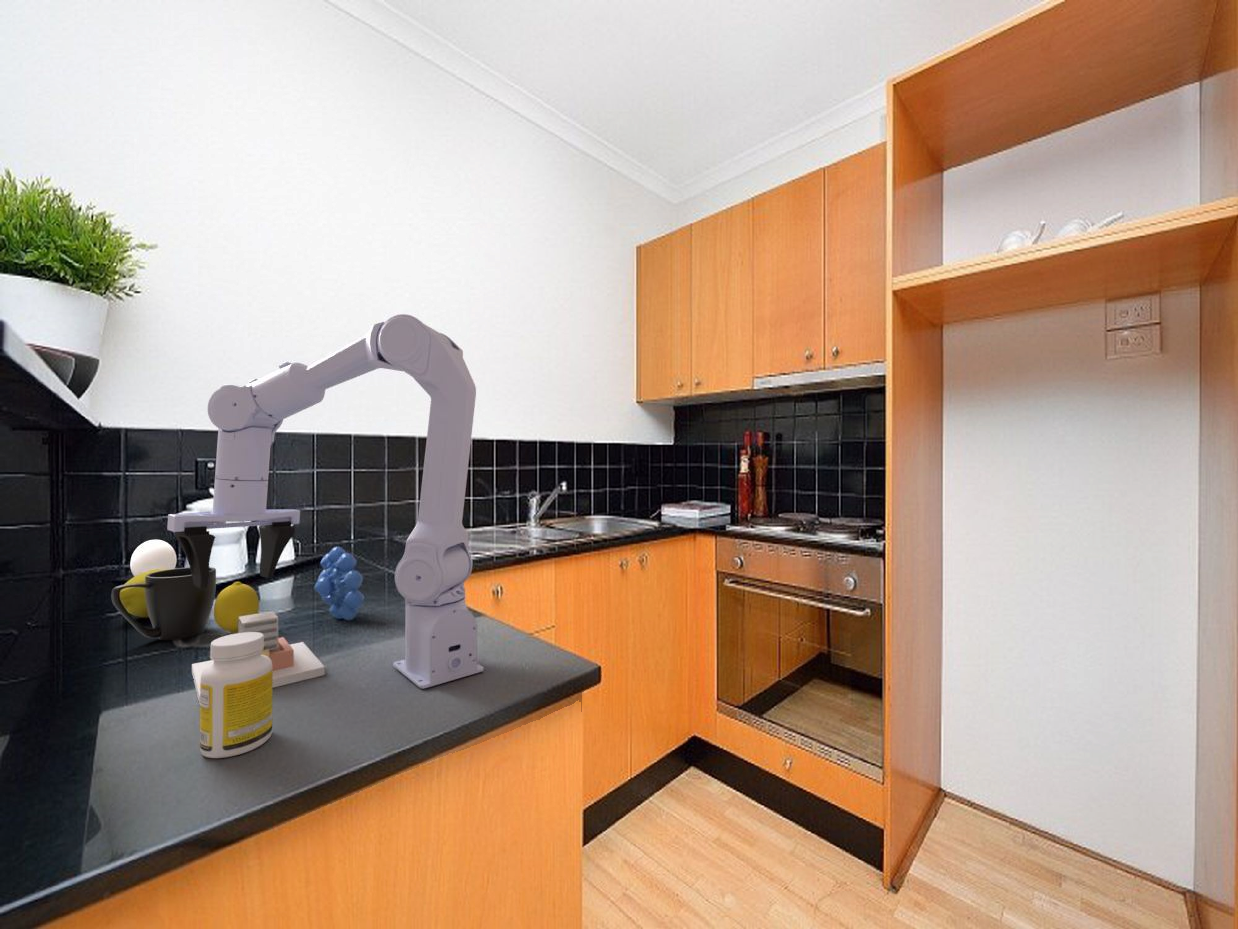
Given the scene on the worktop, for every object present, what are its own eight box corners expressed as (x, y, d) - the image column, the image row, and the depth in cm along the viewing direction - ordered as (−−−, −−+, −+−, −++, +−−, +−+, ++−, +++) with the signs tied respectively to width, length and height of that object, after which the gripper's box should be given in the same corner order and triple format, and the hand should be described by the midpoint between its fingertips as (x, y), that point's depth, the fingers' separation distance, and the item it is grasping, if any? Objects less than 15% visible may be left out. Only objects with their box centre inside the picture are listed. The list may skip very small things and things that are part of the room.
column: (278, 664, 63) (278, 617, 63) (242, 672, 61) (242, 623, 61) (272, 656, 66) (272, 611, 66) (238, 663, 64) (238, 616, 64)
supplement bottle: (285, 728, 50) (285, 628, 51) (246, 760, 45) (247, 648, 45) (228, 729, 50) (229, 629, 50) (183, 761, 45) (184, 649, 45)
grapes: (296, 618, 86) (297, 547, 86) (337, 609, 92) (338, 542, 92) (331, 632, 80) (331, 554, 80) (373, 621, 85) (373, 548, 85)
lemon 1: (183, 606, 94) (184, 562, 94) (204, 612, 90) (204, 566, 90) (102, 622, 84) (103, 573, 84) (121, 629, 80) (121, 578, 80)
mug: (100, 645, 73) (100, 578, 73) (201, 623, 84) (201, 564, 84) (122, 655, 69) (123, 585, 69) (225, 631, 80) (226, 569, 80)
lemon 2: (234, 641, 75) (235, 586, 75) (203, 638, 76) (204, 585, 76) (267, 629, 80) (268, 578, 80) (238, 627, 82) (238, 577, 82)
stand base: (324, 674, 63) (324, 645, 63) (199, 705, 55) (199, 671, 55) (302, 649, 72) (302, 623, 72) (191, 672, 64) (191, 643, 64)
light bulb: (133, 594, 102) (133, 539, 102) (177, 589, 106) (178, 536, 106) (127, 602, 96) (127, 543, 96) (174, 596, 100) (175, 540, 100)
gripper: (284, 477, 76) (277, 568, 77) (160, 476, 64) (152, 584, 64) (310, 481, 73) (303, 576, 73) (185, 480, 60) (176, 596, 60)
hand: (234, 581), depth 68 cm, fingers open, 7 cm apart
